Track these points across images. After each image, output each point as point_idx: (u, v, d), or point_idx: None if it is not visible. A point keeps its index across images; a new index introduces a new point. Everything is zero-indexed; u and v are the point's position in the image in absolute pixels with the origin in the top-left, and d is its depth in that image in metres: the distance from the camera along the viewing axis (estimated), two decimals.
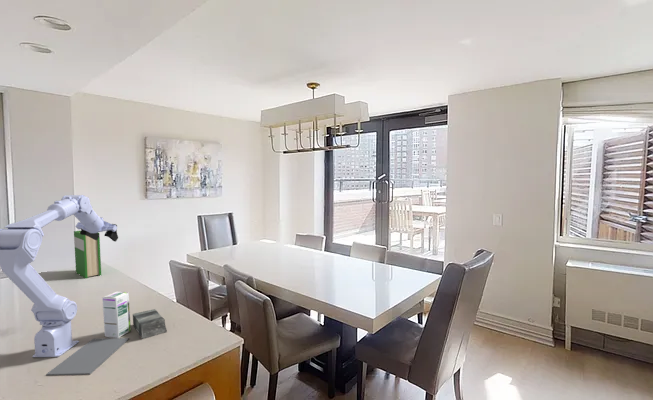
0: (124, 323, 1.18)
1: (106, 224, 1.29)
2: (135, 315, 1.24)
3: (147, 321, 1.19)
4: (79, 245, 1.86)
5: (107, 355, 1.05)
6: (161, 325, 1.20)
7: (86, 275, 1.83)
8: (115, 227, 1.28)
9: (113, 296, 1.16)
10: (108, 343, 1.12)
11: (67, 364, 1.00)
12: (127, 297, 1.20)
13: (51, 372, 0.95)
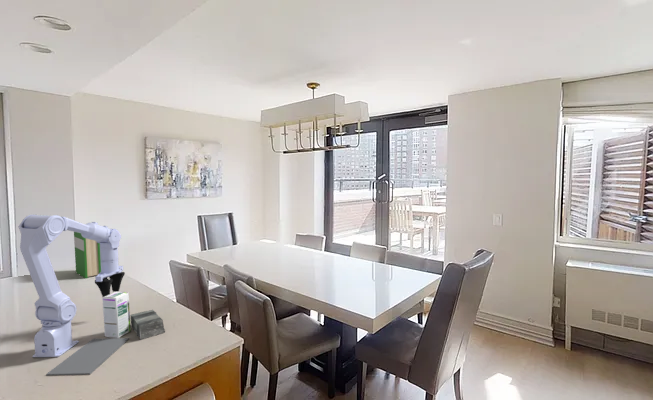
0: (124, 323, 1.18)
1: None
2: (133, 316, 1.24)
3: (145, 321, 1.19)
4: (79, 245, 1.86)
5: (107, 355, 1.05)
6: (159, 326, 1.19)
7: (86, 275, 1.83)
8: (98, 278, 1.22)
9: (113, 296, 1.16)
10: (108, 343, 1.12)
11: (67, 364, 1.00)
12: (127, 297, 1.20)
13: (51, 372, 0.95)
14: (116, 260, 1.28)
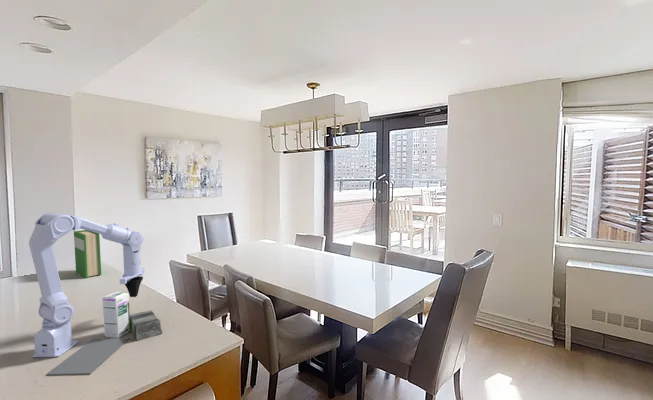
0: (124, 323, 1.18)
1: (130, 277, 1.26)
2: (131, 316, 1.23)
3: (142, 322, 1.18)
4: (79, 245, 1.86)
5: (107, 355, 1.05)
6: (156, 327, 1.18)
7: (86, 275, 1.83)
8: (123, 281, 1.22)
9: (113, 296, 1.16)
10: (108, 343, 1.12)
11: (67, 364, 1.00)
12: (127, 297, 1.20)
13: (51, 372, 0.95)
14: (139, 262, 1.29)
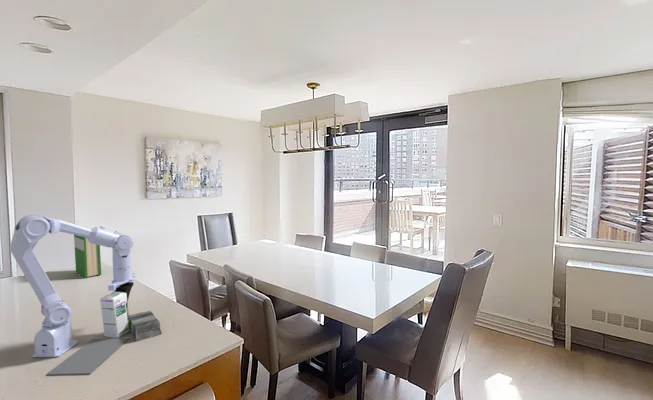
0: (123, 323, 1.18)
1: None
2: (130, 317, 1.23)
3: (141, 323, 1.18)
4: (79, 245, 1.86)
5: (107, 355, 1.05)
6: (156, 327, 1.18)
7: (86, 275, 1.83)
8: (111, 287, 1.15)
9: (110, 297, 1.15)
10: (108, 343, 1.12)
11: (67, 364, 1.00)
12: (125, 297, 1.19)
13: (51, 372, 0.95)
14: (129, 267, 1.22)
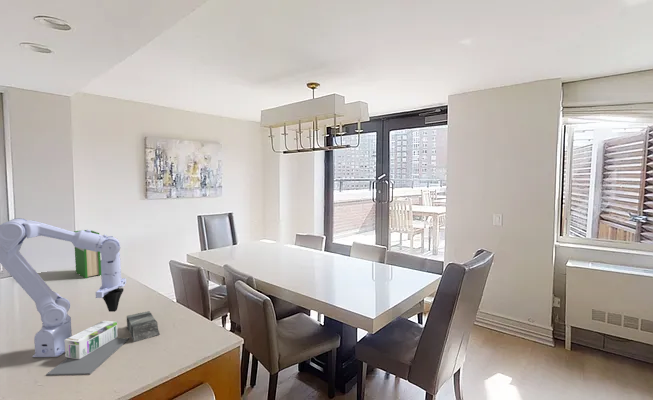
0: (108, 335, 1.12)
1: None
2: (129, 317, 1.23)
3: (139, 323, 1.17)
4: None
5: (107, 355, 1.05)
6: (154, 328, 1.18)
7: (86, 275, 1.83)
8: (99, 294, 1.09)
9: (74, 356, 1.02)
10: (108, 343, 1.12)
11: (67, 364, 1.00)
12: (83, 341, 1.03)
13: (51, 372, 0.95)
14: (119, 273, 1.15)
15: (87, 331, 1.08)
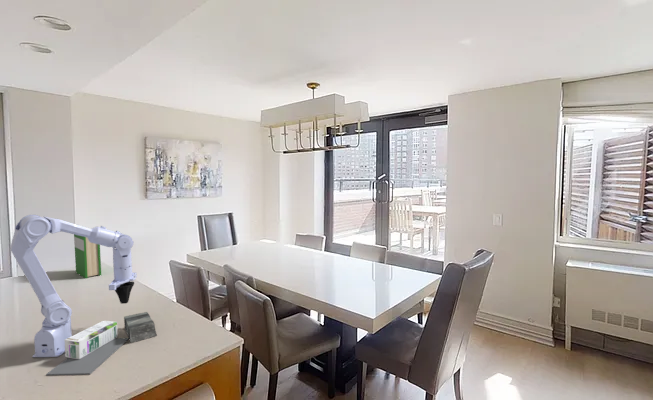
0: (108, 335, 1.12)
1: None
2: (126, 318, 1.22)
3: (136, 324, 1.16)
4: (79, 245, 1.86)
5: (107, 355, 1.05)
6: (151, 329, 1.17)
7: (86, 275, 1.83)
8: (112, 287, 1.16)
9: (74, 356, 1.02)
10: (108, 343, 1.12)
11: (67, 364, 1.00)
12: (83, 341, 1.03)
13: (51, 372, 0.95)
14: (130, 267, 1.22)
15: (87, 331, 1.08)
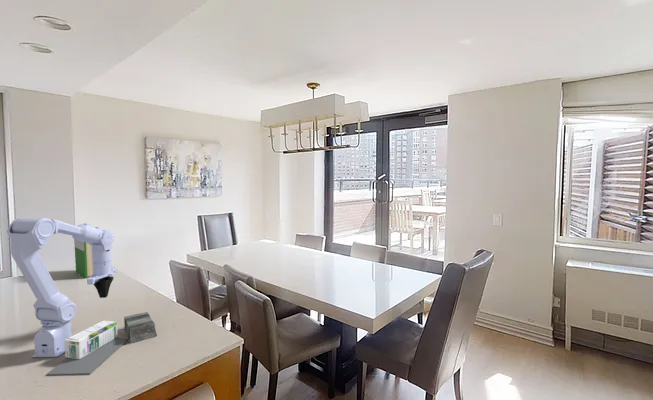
0: (108, 335, 1.12)
1: (99, 277, 1.23)
2: (126, 318, 1.22)
3: (136, 324, 1.16)
4: (79, 245, 1.86)
5: (107, 355, 1.05)
6: (151, 329, 1.17)
7: (86, 275, 1.83)
8: (90, 281, 1.19)
9: (74, 356, 1.02)
10: (108, 343, 1.12)
11: (67, 364, 1.00)
12: (83, 341, 1.03)
13: (51, 372, 0.95)
14: (109, 262, 1.25)
15: (87, 331, 1.08)
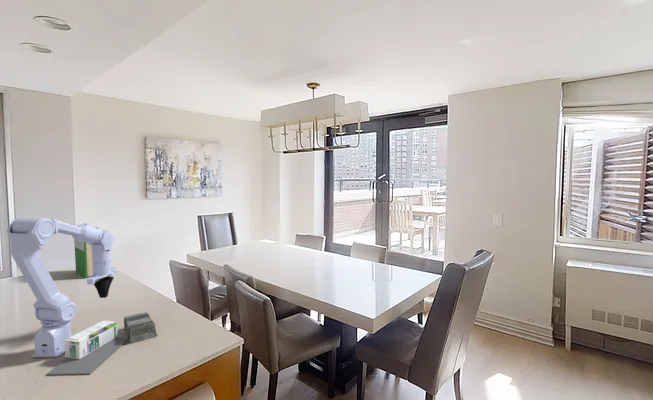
0: (108, 335, 1.12)
1: (99, 277, 1.23)
2: (126, 318, 1.22)
3: (136, 324, 1.16)
4: (79, 245, 1.86)
5: (107, 355, 1.05)
6: (151, 329, 1.17)
7: (86, 275, 1.83)
8: (90, 281, 1.19)
9: (74, 356, 1.02)
10: (108, 343, 1.12)
11: (67, 364, 1.00)
12: (83, 341, 1.03)
13: (51, 372, 0.95)
14: (109, 262, 1.25)
15: (87, 331, 1.08)
